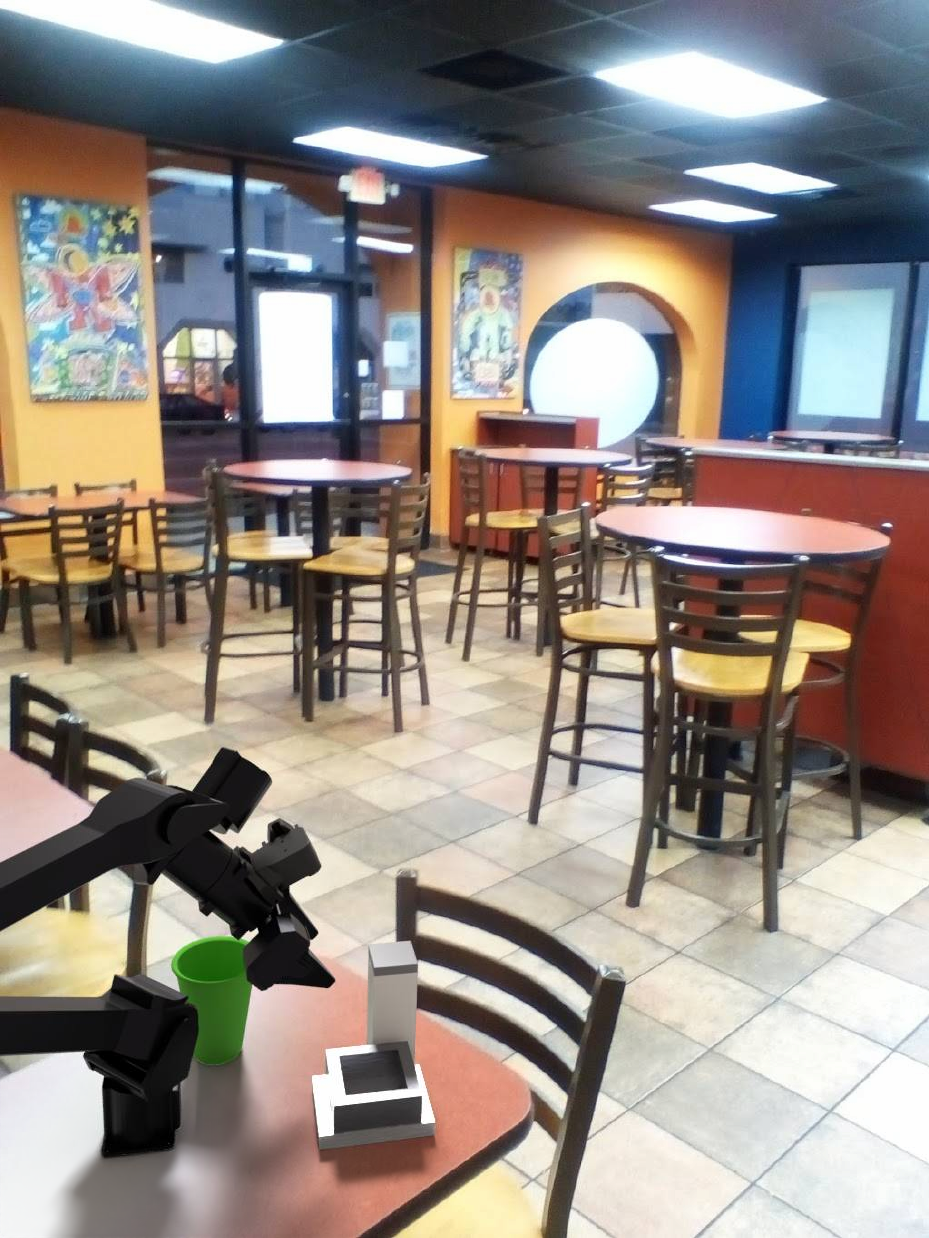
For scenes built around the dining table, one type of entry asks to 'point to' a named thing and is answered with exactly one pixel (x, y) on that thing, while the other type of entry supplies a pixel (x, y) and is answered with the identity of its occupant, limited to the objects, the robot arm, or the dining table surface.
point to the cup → (215, 994)
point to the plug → (392, 994)
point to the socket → (371, 1096)
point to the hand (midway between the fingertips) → (323, 958)
